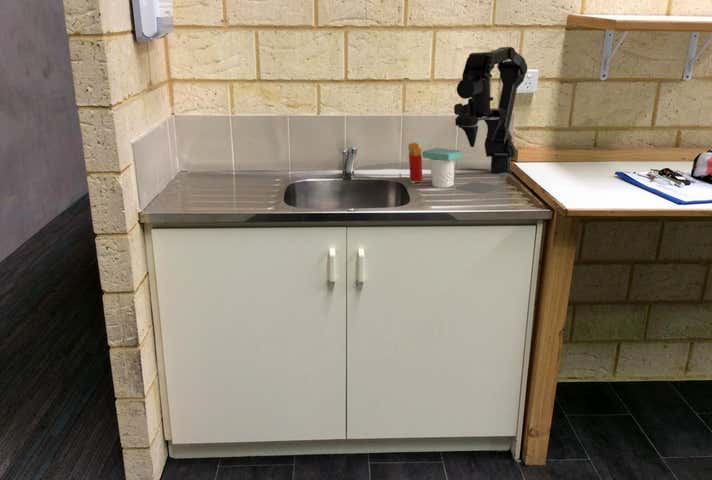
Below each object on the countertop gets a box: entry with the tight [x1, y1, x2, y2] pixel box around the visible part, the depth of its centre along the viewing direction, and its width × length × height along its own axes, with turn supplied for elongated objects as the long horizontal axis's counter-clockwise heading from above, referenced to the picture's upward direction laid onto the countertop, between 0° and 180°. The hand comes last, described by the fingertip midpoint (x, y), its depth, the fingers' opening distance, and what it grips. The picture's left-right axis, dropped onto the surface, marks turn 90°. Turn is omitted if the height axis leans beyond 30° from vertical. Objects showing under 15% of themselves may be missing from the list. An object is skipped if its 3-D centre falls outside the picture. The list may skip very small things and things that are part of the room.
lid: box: [421, 147, 463, 161], centre depth 194 cm, size 6×11×2 cm, turn 41°
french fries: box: [407, 142, 423, 183], centre depth 207 cm, size 9×4×13 cm, turn 175°
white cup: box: [429, 159, 455, 188], centre depth 196 cm, size 8×8×10 cm
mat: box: [453, 181, 505, 195], centre depth 191 cm, size 10×12×1 cm
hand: (481, 144), depth 194 cm, fingers open, 9 cm apart
